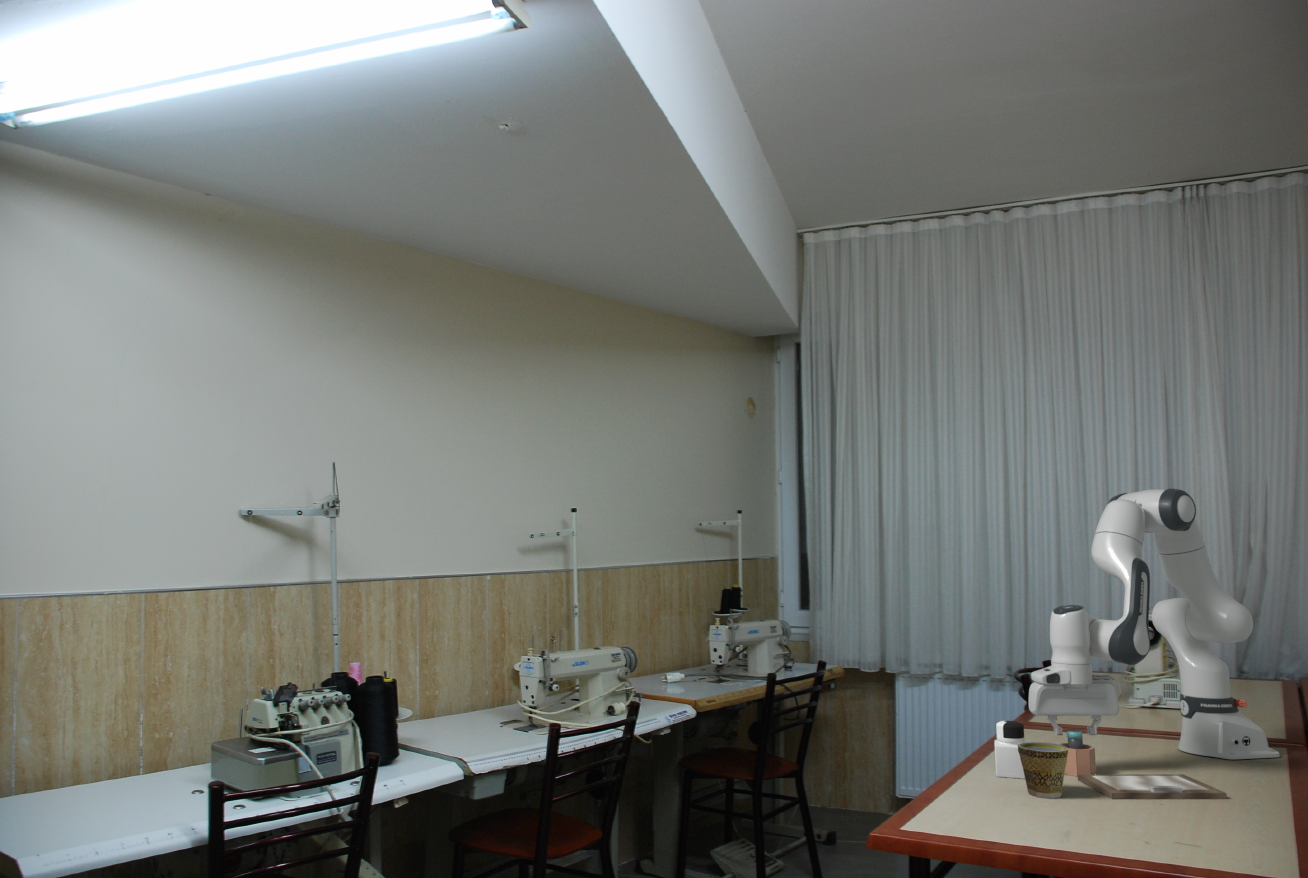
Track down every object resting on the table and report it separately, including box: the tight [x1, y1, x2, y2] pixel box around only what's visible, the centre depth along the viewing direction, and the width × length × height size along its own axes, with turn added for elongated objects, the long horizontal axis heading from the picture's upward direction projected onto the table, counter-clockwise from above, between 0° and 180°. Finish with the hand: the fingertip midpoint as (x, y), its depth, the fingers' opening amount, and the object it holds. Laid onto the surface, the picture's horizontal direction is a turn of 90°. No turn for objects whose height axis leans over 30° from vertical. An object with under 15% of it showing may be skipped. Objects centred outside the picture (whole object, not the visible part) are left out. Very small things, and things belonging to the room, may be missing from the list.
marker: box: [1066, 729, 1084, 749], centre depth 218 cm, size 3×3×9 cm
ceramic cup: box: [1018, 741, 1068, 800], centre depth 200 cm, size 13×10×10 cm
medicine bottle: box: [994, 720, 1026, 780], centre depth 216 cm, size 7×7×12 cm
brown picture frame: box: [1077, 773, 1227, 800], centre depth 202 cm, size 24×16×2 cm, turn 90°
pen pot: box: [1058, 742, 1097, 777], centre depth 218 cm, size 8×8×6 cm
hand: (1075, 734), depth 218 cm, fingers open, 7 cm apart
